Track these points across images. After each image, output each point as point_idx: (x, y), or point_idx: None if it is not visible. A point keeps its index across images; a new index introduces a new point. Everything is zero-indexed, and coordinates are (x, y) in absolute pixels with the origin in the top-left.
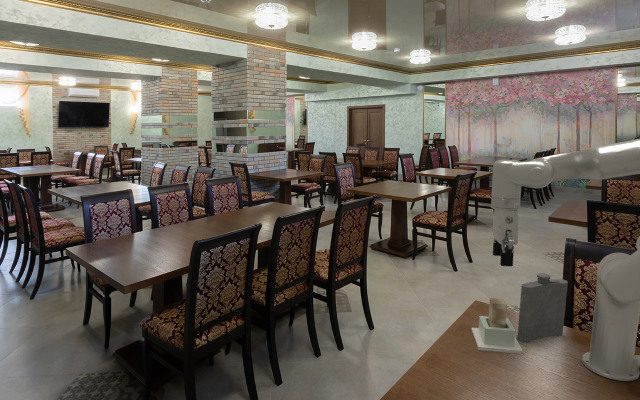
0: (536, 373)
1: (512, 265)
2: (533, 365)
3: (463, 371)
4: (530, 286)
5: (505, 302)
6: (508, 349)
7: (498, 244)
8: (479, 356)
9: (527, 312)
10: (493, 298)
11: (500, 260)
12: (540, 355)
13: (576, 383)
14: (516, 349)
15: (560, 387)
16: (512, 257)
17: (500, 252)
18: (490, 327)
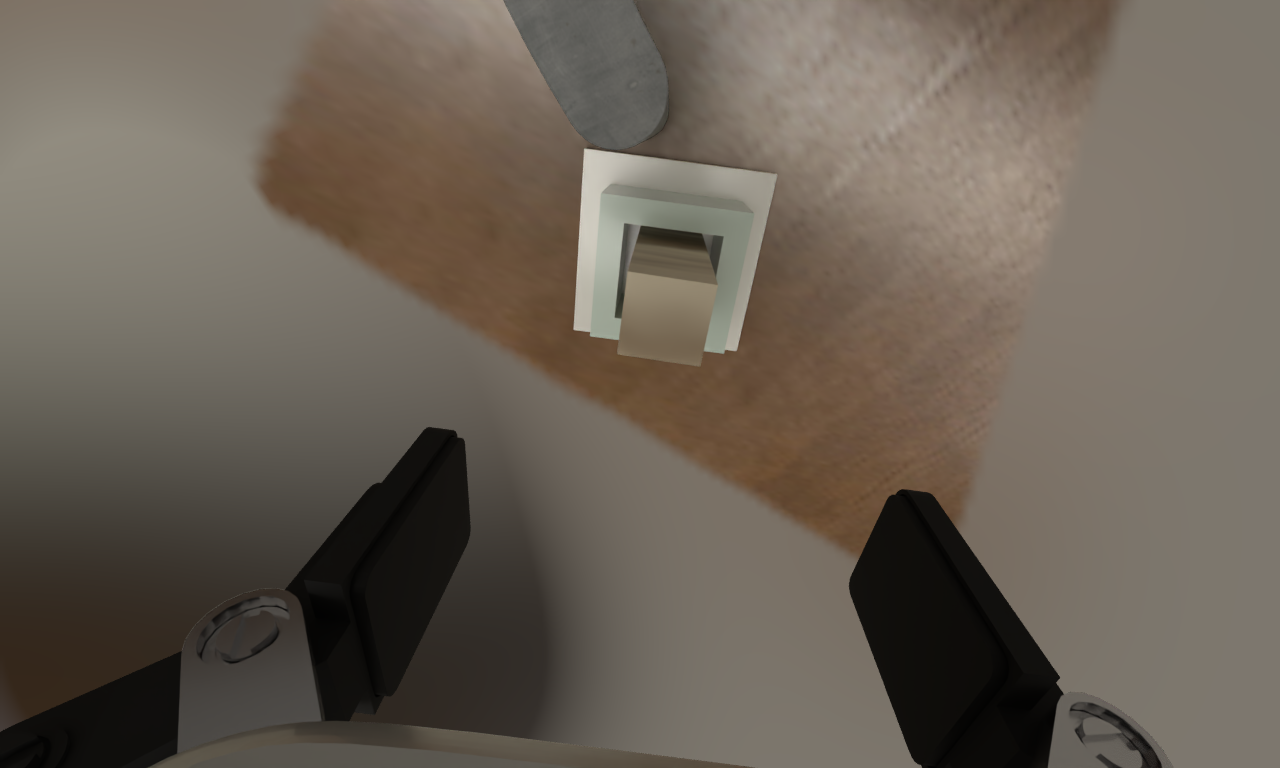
0: (925, 176)
1: (929, 497)
2: (866, 161)
3: (865, 430)
4: (634, 65)
5: (684, 282)
6: (761, 236)
7: (385, 645)
8: (779, 354)
9: (668, 104)
10: (623, 335)
11: (873, 642)
12: (790, 83)
13: (1036, 14)
14: (764, 199)
15: (1039, 115)
16: (996, 602)
17: (448, 506)
18: (712, 324)
